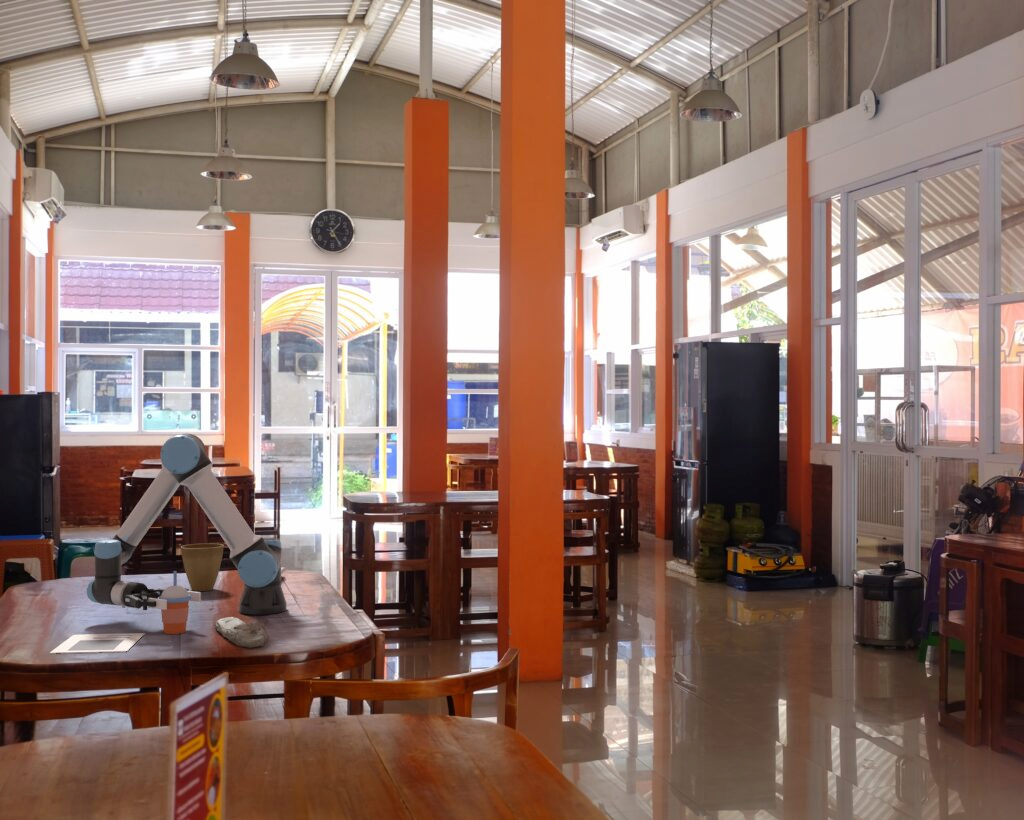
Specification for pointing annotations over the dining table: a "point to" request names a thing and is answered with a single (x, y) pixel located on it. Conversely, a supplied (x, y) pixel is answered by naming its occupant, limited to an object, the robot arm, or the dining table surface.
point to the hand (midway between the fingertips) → (183, 600)
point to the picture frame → (98, 643)
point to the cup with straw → (175, 608)
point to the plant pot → (202, 564)
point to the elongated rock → (242, 632)
